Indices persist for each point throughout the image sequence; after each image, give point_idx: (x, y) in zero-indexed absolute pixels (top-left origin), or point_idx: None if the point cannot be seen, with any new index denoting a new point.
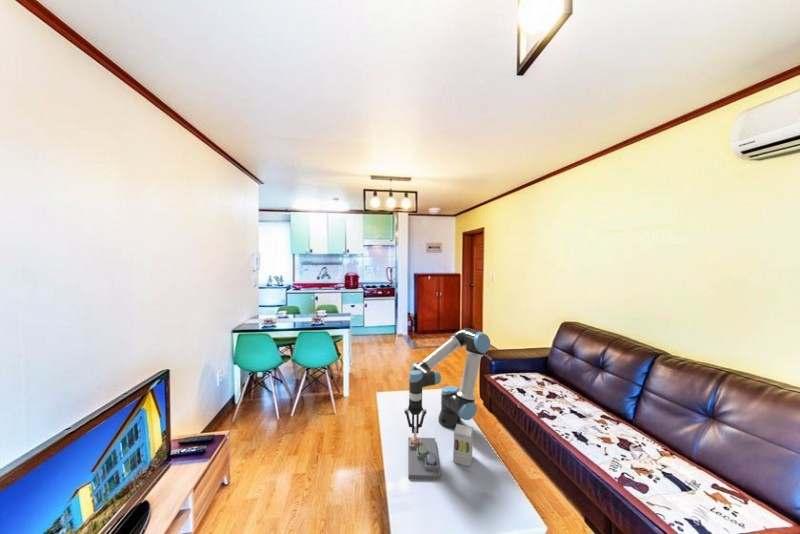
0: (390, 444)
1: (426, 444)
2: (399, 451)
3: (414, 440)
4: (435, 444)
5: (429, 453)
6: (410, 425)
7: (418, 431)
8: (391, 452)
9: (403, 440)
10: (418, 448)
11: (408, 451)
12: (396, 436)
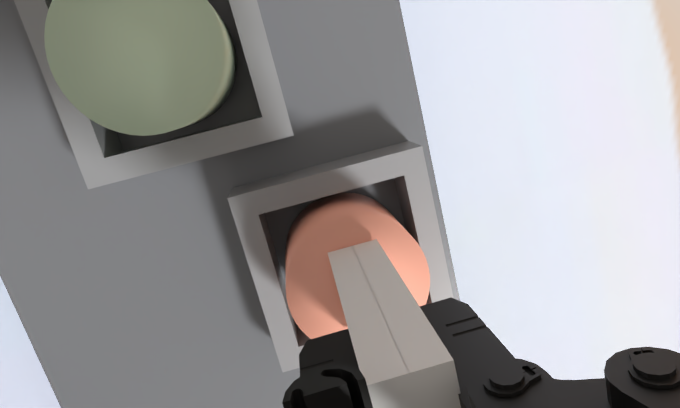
0: (660, 210)
1: (179, 312)
2: (528, 111)
3: (361, 228)
4: (43, 356)
5: None
6: (657, 401)
7: (301, 372)
8: (626, 60)
9: (516, 333)
10: (256, 118)
11: (410, 72)
12: None
